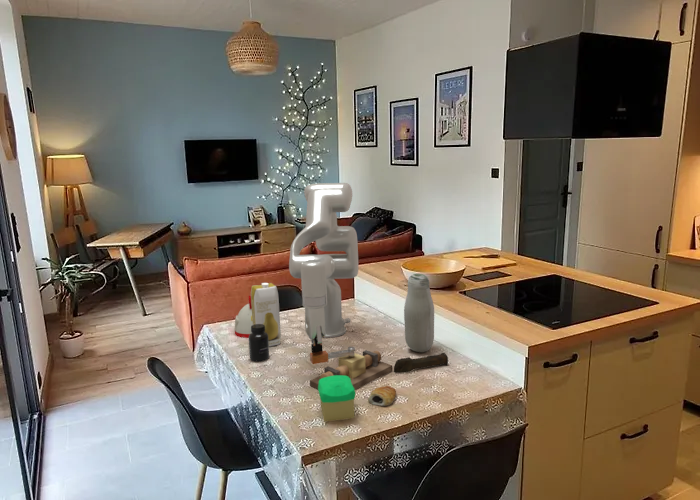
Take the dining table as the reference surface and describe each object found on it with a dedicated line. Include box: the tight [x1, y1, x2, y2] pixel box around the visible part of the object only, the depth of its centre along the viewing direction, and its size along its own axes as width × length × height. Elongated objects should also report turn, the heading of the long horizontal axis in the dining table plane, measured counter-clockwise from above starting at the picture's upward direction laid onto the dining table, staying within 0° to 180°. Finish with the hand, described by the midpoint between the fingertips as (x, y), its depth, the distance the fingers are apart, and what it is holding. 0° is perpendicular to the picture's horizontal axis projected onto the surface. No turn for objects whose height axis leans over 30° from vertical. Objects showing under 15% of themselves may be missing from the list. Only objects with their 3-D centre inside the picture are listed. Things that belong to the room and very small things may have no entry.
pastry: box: [367, 385, 397, 407], centre depth 148 cm, size 9×7×4 cm
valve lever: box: [309, 346, 356, 365], centre depth 158 cm, size 14×3×3 cm, turn 109°
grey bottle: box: [403, 273, 435, 353], centre depth 180 cm, size 10×10×28 cm
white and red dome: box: [234, 295, 253, 339], centre depth 206 cm, size 14×14×15 cm
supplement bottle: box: [248, 324, 270, 363], centre depth 179 cm, size 7×7×12 cm
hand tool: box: [393, 352, 449, 374], centre depth 168 cm, size 19×4×5 cm, turn 107°
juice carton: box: [250, 282, 281, 347], centre depth 191 cm, size 9×8×24 cm
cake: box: [317, 375, 356, 422], centre depth 140 cm, size 10×11×10 cm
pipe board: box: [309, 349, 393, 391], centre depth 161 cm, size 25×12×7 cm, turn 135°
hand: (317, 356), depth 160 cm, fingers closed
